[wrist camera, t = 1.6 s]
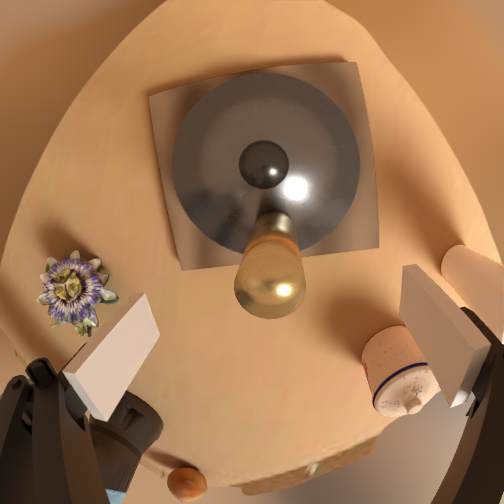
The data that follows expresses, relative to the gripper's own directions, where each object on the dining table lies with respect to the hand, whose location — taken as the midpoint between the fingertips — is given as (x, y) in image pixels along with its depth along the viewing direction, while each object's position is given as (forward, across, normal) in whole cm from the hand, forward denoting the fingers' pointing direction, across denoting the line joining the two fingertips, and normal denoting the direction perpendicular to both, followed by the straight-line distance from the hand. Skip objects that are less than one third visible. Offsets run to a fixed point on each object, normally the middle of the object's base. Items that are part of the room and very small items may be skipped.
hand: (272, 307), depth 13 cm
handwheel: (+16, 0, -6) cm, 17 cm away
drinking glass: (+18, -23, +8) cm, 30 cm away
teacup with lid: (+18, -15, +21) cm, 31 cm away
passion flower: (+18, +27, +5) cm, 33 cm away
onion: (+17, +27, +58) cm, 66 cm away
